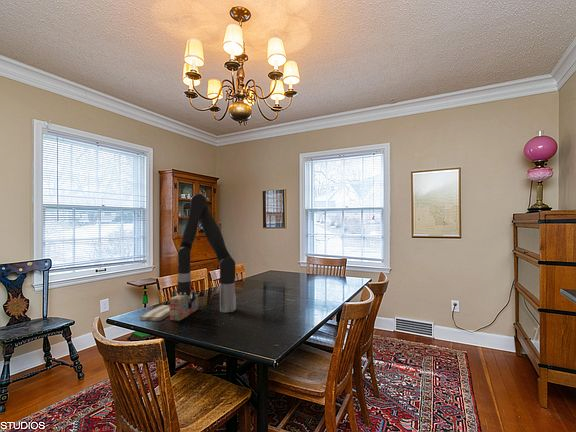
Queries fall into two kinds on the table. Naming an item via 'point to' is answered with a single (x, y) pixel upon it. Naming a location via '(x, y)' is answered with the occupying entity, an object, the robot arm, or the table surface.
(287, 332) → the table surface
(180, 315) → the stack of blocks
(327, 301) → the table surface
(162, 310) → the birch board
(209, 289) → the table surface
